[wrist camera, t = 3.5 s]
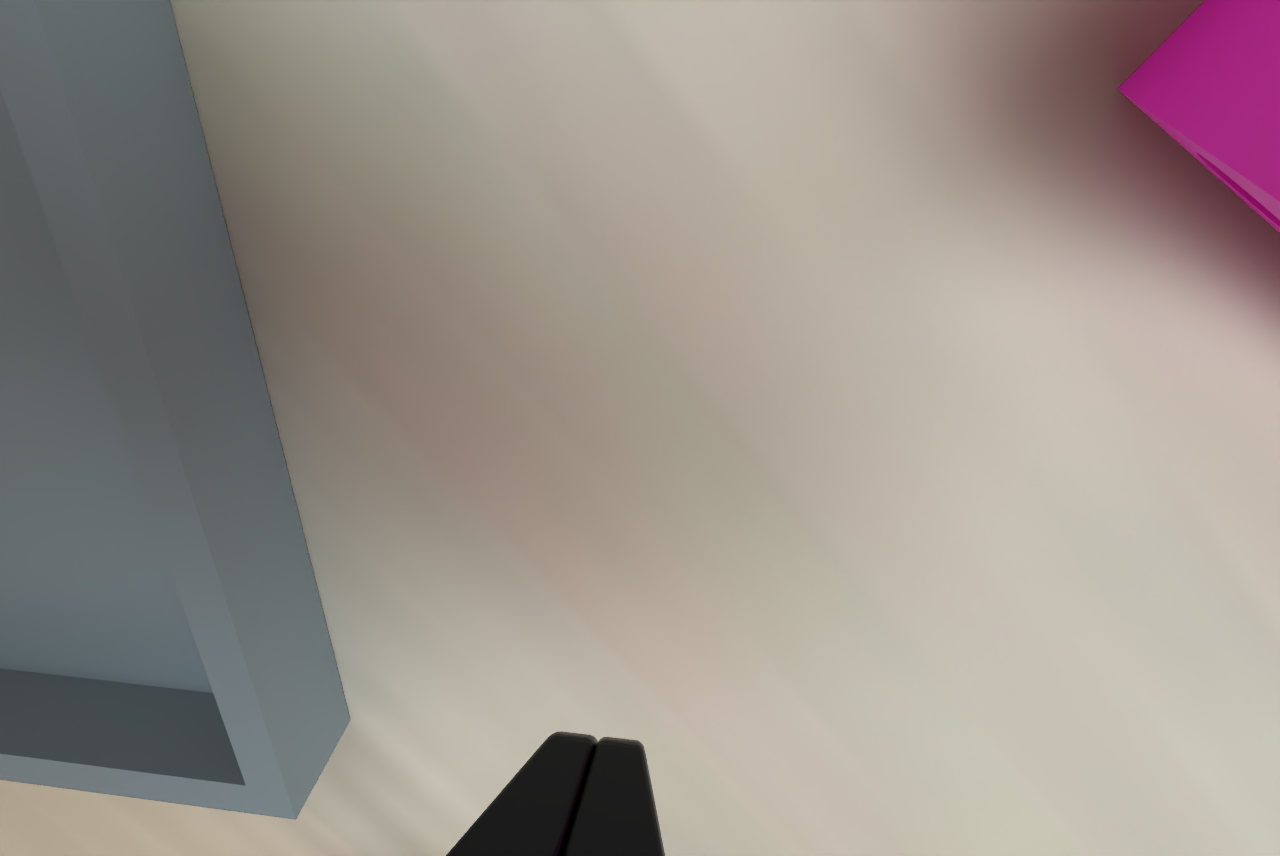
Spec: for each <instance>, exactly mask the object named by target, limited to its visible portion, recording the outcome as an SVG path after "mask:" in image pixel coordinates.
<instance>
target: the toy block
mask: <svg viewBox="0 0 1280 856" xmlns="http://www.w3.org/2000/svg"><path fill="white" fill-rule="evenodd" d="M1118 90H1119V91H1120V92H1121V93H1122V94H1123V95H1125V96H1126V97H1127V98H1128V99H1129V100H1130V101H1131V102H1132V103H1134V104H1135V105H1136V106H1137V107H1138V108H1139V109H1140V110H1141V111H1143V112H1144V113H1145V114H1146V115H1147V116H1148V117H1149V118H1150V119H1152V120H1153V121H1154V122H1155V123H1156V124H1157V125H1158V126H1159V127H1161V128H1162V129H1163V130H1164V131H1165V132H1166V133H1167V134H1168V135H1170V136H1171V137H1172V138H1173V139H1174V140H1175V141H1176V142H1178V143H1179V144H1180V145H1181V146H1182V147H1183V148H1184V149H1185V150H1187V151H1188V152H1189V153H1190V154H1191V155H1192V156H1193V157H1194V158H1196V159H1197V160H1198V161H1199V162H1200V163H1201V164H1202V165H1203V166H1205V167H1206V168H1207V169H1208V170H1209V171H1210V172H1211V173H1212V174H1214V175H1215V176H1216V177H1217V178H1218V179H1219V180H1220V181H1221V182H1223V183H1224V184H1225V185H1226V186H1227V187H1228V188H1229V189H1230V190H1232V191H1233V192H1234V193H1235V194H1236V195H1237V196H1238V197H1239V198H1241V199H1242V200H1243V201H1244V202H1245V203H1246V204H1247V205H1248V206H1250V207H1251V208H1252V209H1253V210H1254V211H1255V212H1256V213H1257V214H1259V215H1260V216H1261V217H1262V218H1263V219H1264V220H1265V221H1266V222H1268V223H1269V224H1270V225H1271V226H1272V227H1273V228H1274V229H1276V230H1277V231H1278V232H1279V233H1280V0H1205V1H1204V2H1203V3H1202V4H1201V5H1200V6H1199V7H1198V8H1197V9H1196V10H1195V11H1194V12H1193V13H1192V14H1191V15H1190V16H1189V17H1188V18H1187V19H1186V20H1185V21H1184V22H1183V23H1182V24H1181V25H1180V26H1179V27H1178V28H1177V29H1176V30H1175V31H1174V32H1173V33H1172V34H1171V35H1170V36H1169V37H1168V38H1167V39H1166V40H1165V41H1164V42H1163V43H1162V44H1161V45H1160V46H1159V47H1158V48H1157V49H1156V50H1155V51H1154V52H1153V53H1152V54H1151V56H1150V57H1149V58H1148V59H1147V60H1146V61H1145V62H1144V63H1143V64H1142V65H1141V66H1140V67H1139V68H1138V69H1137V70H1136V71H1135V72H1134V73H1133V74H1132V75H1131V76H1130V77H1129V78H1128V79H1127V80H1126V81H1125V82H1124V83H1123V84H1122V85H1121V86H1120V87H1119V88H1118Z"/></svg>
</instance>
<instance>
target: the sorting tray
mask: <svg viewBox="0 0 1280 856" xmlns="http://www.w3.org/2000/svg"><path fill="white" fill-rule="evenodd" d="M349 721H350V716H349V712H348V708H347V704H346V700H345V696H344V692H343V688H342V684H341V680H340V676H339V673H338V669H337V665H336V661H335V657H334V653H333V649H332V645H331V641H330V637H329V633H328V629H327V625H326V621H325V617H324V613H323V609H322V605H321V601H320V597H319V593H318V589H317V585H316V581H315V577H314V573H313V569H312V565H311V561H310V557H309V553H308V549H307V545H306V541H305V537H304V533H303V529H302V526H301V522H300V518H299V514H298V510H297V506H296V502H295V498H294V494H293V490H292V486H291V482H290V478H289V474H288V470H287V466H286V462H285V458H284V454H283V450H282V446H281V442H280V438H279V434H278V430H277V426H276V422H275V418H274V414H273V410H272V406H271V402H270V398H269V394H268V390H267V386H266V382H265V379H264V375H263V371H262V367H261V363H260V359H259V355H258V351H257V347H256V343H255V339H254V335H253V331H252V327H251V323H250V319H249V315H248V311H247V307H246V303H245V299H244V295H243V291H242V287H241V283H240V279H239V275H238V271H237V267H236V263H235V259H234V255H233V251H232V247H231V243H230V239H229V235H228V232H227V228H226V224H225V220H224V216H223V212H222V208H221V204H220V200H219V196H218V192H217V188H216V184H215V180H214V176H213V172H212V168H211V164H210V160H209V156H208V152H207V148H206V144H205V140H204V136H203V132H202V128H201V124H200V120H199V116H198V112H197V108H196V104H195V100H194V96H193V92H192V88H191V85H190V81H189V77H188V73H187V69H186V65H185V61H184V57H183V53H182V49H181V45H180V41H179V37H178V33H177V29H176V25H175V21H174V17H173V13H172V9H171V5H170V1H169V0H0V780H7V781H15V782H22V783H29V784H37V785H44V786H52V787H59V788H66V789H74V790H81V791H89V792H96V793H103V794H111V795H118V796H126V797H133V798H140V799H148V800H155V801H163V802H170V803H177V804H185V805H192V806H200V807H207V808H214V809H222V810H229V811H237V812H244V813H251V814H259V815H266V816H274V817H281V818H288V819H296V818H297V816H298V815H299V813H300V811H301V809H302V807H303V806H304V804H305V802H306V800H307V798H308V796H309V795H310V793H311V791H312V789H313V787H314V785H315V784H316V782H317V780H318V778H319V776H320V774H321V773H322V771H323V769H324V767H325V765H326V763H327V762H328V760H329V758H330V756H331V754H332V752H333V751H334V749H335V747H336V745H337V743H338V741H339V740H340V738H341V736H342V734H343V732H344V730H345V729H346V727H347V725H348V723H349Z"/></svg>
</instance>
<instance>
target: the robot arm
mask: <svg viewBox="0 0 1280 856" xmlns="http://www.w3.org/2000/svg"><path fill="white" fill-rule="evenodd" d="M446 856H665V853H664V848H663V842H662V837H661V832H660V827H659V822H658V816H657V811H656V806H655V801H654V796H653V791H652V785H651V780H650V775H649V770H648V765H647V759H646V754H645V750H644V746H643V745H642V743H641V742H639V741H637V740H629V739H620V738H612V737H603V738H602V739H600V740H599V742H598V741H597V739H596V738H595V737H594V736H591V735H586V734H577V733H569V732H556V733H554V734H552V735H550V736H549V737H548V738H547V739H546V740H545V742H544V743H543V744H542V745H541V746H540V747H539V748H538V750H537V751H536V752H535V753H534V754H533V755H532V757H531V758H530V759H529V760H528V761H527V762H526V764H525V765H524V766H523V767H522V768H521V769H520V771H519V772H518V773H517V774H516V775H515V776H514V777H513V779H512V780H511V781H510V782H509V783H508V784H507V786H506V787H505V788H504V789H503V790H502V791H501V793H500V794H499V795H498V796H497V797H496V798H495V800H494V801H493V802H492V803H491V804H490V805H489V806H488V808H487V809H486V810H485V811H484V812H483V813H482V815H481V816H480V817H479V818H478V819H477V820H476V822H475V823H474V824H473V825H472V826H471V827H470V828H469V830H468V831H467V832H466V833H465V834H464V835H463V837H462V838H461V839H460V840H459V841H458V842H457V844H456V845H455V846H454V847H453V848H452V849H451V851H450V852H449V853H448V854H447V855H446Z"/></svg>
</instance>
